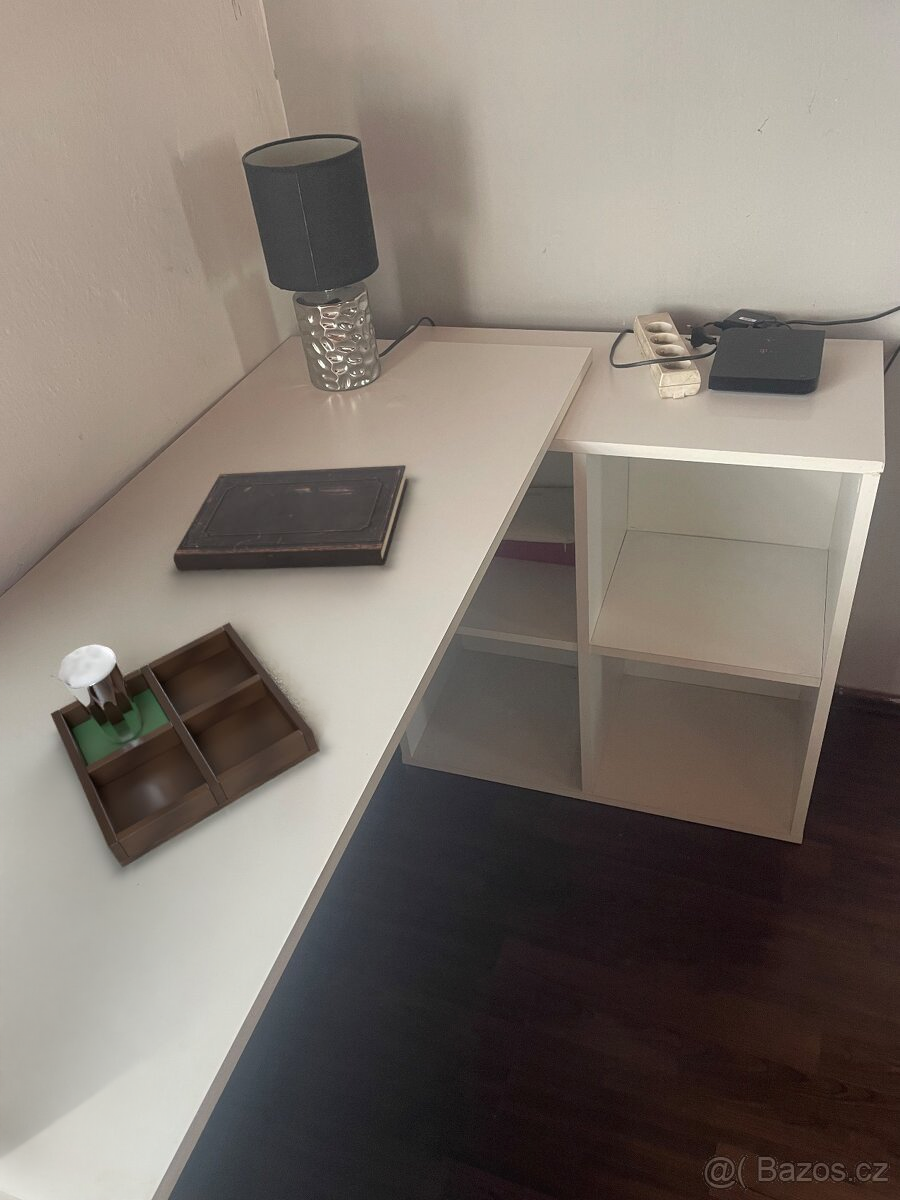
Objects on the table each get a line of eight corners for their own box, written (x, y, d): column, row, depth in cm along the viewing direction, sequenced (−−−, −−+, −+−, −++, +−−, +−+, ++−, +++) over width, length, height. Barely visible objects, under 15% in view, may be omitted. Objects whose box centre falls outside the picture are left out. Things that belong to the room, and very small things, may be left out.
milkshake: (81, 750, 75) (30, 670, 69) (120, 705, 79) (74, 625, 72) (122, 762, 73) (73, 681, 67) (160, 715, 77) (117, 634, 70)
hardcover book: (225, 489, 106) (219, 473, 104) (408, 481, 102) (405, 464, 100) (178, 573, 94) (171, 557, 92) (384, 568, 90) (379, 551, 88)
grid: (122, 867, 66) (108, 847, 65) (63, 733, 78) (50, 713, 76) (319, 751, 73) (312, 729, 71) (238, 642, 84) (229, 621, 82)
